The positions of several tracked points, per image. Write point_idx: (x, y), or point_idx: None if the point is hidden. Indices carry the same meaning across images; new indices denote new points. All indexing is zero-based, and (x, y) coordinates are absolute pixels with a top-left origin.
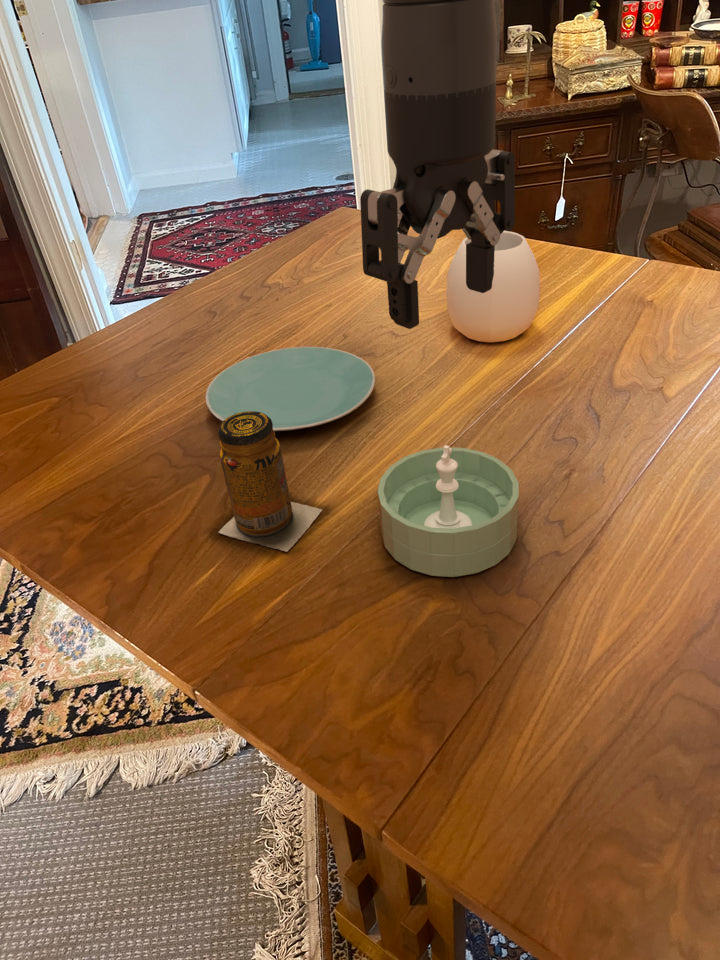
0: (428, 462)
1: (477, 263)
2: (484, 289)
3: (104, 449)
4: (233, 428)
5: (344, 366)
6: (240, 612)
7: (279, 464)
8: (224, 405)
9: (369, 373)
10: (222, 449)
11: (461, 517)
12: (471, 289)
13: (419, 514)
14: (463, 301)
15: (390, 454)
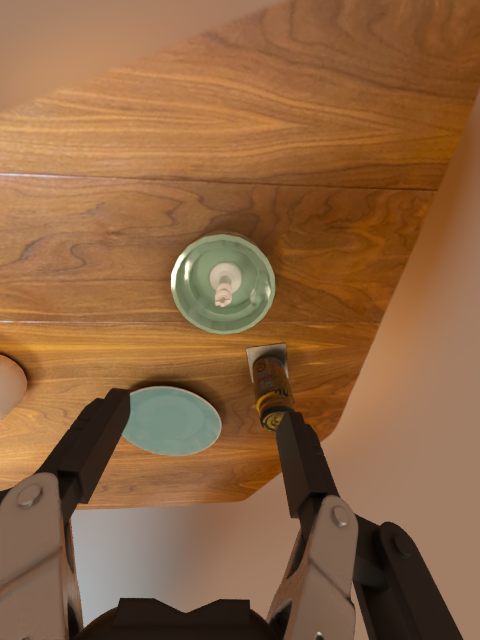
0: (197, 317)
1: (104, 448)
2: (126, 394)
3: (259, 449)
4: None
5: None
6: (331, 335)
7: (270, 385)
8: (205, 436)
9: None
10: None
11: (216, 274)
12: (130, 408)
13: None
14: (2, 403)
15: (178, 346)
